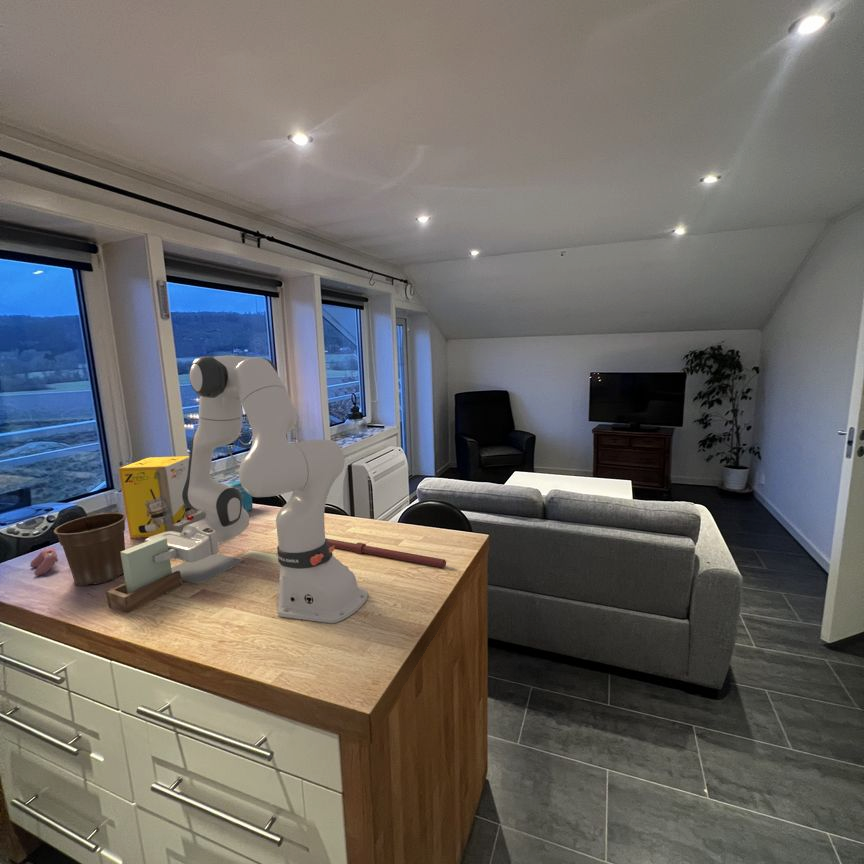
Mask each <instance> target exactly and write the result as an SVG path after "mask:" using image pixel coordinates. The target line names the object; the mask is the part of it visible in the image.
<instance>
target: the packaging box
mask: <svg viewBox="0 0 864 864" xmlns="http://www.w3.org/2000/svg"><path fill="white" fill-rule="evenodd" d="M189 457H190V455H185V456H182V455H181V456H179V455H178V456H157V457H156V456H152V457H147V458H143V459H141V460H139V461H136V462H132V463H130V464H127V465H124V466H122V467H118V471H119V478H120V485H121V491H122V494H123V495H122V497H123V503H124V508H125V515H126V520H127V526H128V527H127V528H128V533H129V538H130V539H141V538H140V537H151V536H154V535H157V534H160V533H163V532H167V531H173V526H172V525H174V524H176V523H179V522H181V521H184V520H186V519H187V517H188V516H190V515H193V514H195V513H198V512H200V511H198V510H195V509H191V508H188V507H187V506H186V505H185V504H184V502H183V498H182V493H183V489H184V486H185V483H186V479H187V474H188V466H189ZM137 537H138V538H137Z"/></svg>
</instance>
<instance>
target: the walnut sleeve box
mask: <svg viewBox="0 0 864 864" xmlns="http://www.w3.org/2000/svg"><path fill="white" fill-rule="evenodd" d="M182 581H183V580H181V575H180V571H175V572H173V573H171V574H169V575H167V576H165V577H163V578H161V579H158V580H156V581H154V582H152V583H150V584H148V585H146V586H143V587H141V588H139V589H137V590H135V591H133V592H131V593H129V594H127V588H126V582H124V583H122V584H119V585H117V586H115V587H112V588H110V589H108V590H106V591H105V595H106V600H107V605H108V607H109V608H112V609H115V610H118V611H121V612H123V613H126V614H128V613H130V612H133V611H134V610H136V609H138V608H139V607H143V606H144V605H145V603H146V604H148V603H150V602H152V601H154V600H155V598H156V599H157V597H158V598H160V597H162V596H164V595H166V594H168V593H170V592H172V591H173V590H175V589H178V588H179V587H181V586H183V582H182ZM177 587H178V588H177ZM167 592H168V593H167ZM163 594H164V595H163ZM161 595H162V596H161ZM159 596H160V597H159ZM153 599H154V600H153ZM151 600H152V601H151ZM149 601H150V602H149ZM147 602H148V603H147Z"/></svg>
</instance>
